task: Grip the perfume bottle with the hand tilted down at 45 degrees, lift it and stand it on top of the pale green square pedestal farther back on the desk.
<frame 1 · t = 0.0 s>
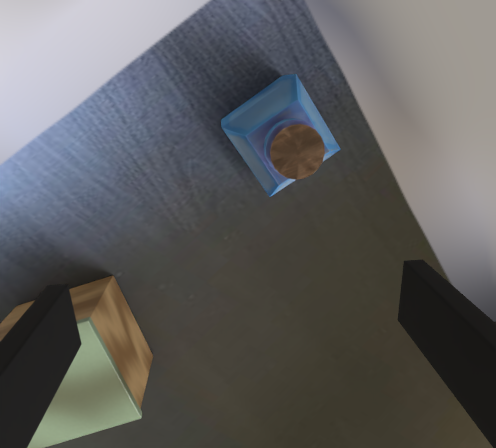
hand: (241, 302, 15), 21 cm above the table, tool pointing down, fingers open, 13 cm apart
perfume bottle: (271, 128, 34), on the table
pale green square pedestal: (87, 331, 39), on the table
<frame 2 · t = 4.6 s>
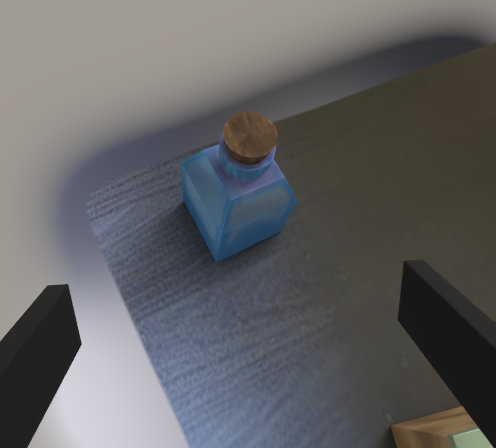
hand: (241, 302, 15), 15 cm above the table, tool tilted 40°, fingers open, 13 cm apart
perfume bottle: (231, 217, 34), on the table
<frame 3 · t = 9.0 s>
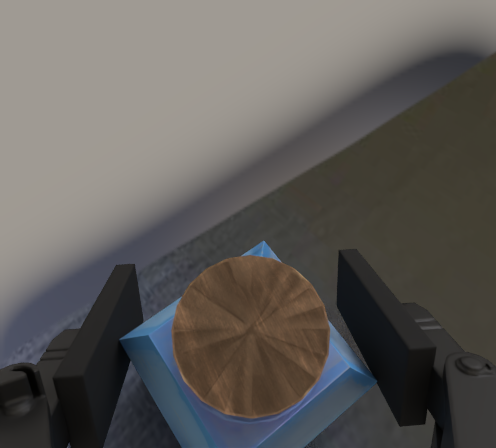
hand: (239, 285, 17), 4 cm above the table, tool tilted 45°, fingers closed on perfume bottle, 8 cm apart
perfume bottle: (244, 374, 19), on the table, touching gripper
when the fingers open (12 cm above the table, at t = 21.1 s): perfume bottle stays where it is, resting on pale green square pedestal.
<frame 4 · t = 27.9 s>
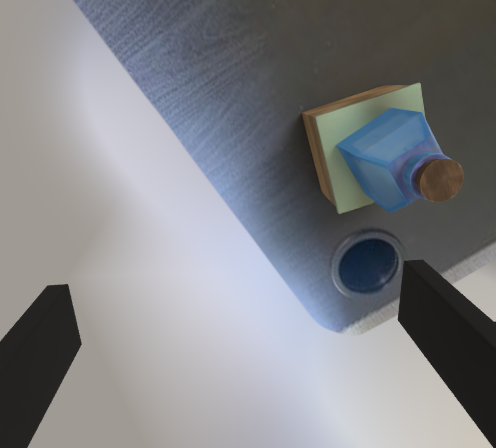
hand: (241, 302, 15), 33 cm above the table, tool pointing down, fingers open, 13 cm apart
perfume bottle: (376, 152, 39), point 8 cm above the table, touching pale green square pedestal
pale green square pedestal: (352, 140, 46), on the table
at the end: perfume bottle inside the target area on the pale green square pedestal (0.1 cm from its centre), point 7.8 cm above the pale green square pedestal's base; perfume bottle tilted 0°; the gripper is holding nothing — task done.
